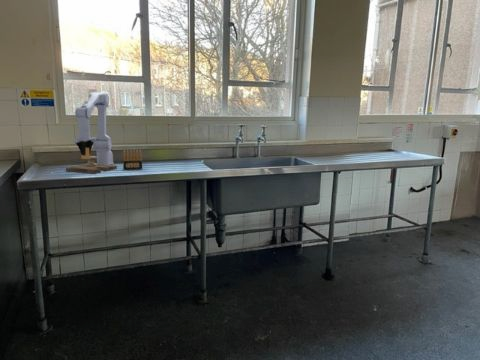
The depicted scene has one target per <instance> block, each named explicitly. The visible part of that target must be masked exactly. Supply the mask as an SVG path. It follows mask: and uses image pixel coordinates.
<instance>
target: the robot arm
mask: <svg viewBox="0 0 480 360" xmlns="http://www.w3.org/2000/svg"><path fill="white" fill-rule="evenodd" d="M88 95H89V96H88V100H85V101H84V102H83V104H81V105H80V106H79V107H77V108H76V109H75V112H74V114H75V117H76V121H77V127H78V129H77V130H78V138H73V139H72V140H73V144H74V143H75V144H76V146H77V147H78V149H79V152H80V156H81V155H85V153H86V148H89V154H90V155H91V151H92V147H93V149H94V151H96V164H105V165H115V162H114V154H113V151H111V149H112V146H113V144H112V138H111V137H110V136H109V135H107V108H108V107H110V106H109V105H110V97H109V94H108V93H107V92H100V91H99V92H94V91H91V92H90V93H89V94H88ZM95 108H97V134H96V135H95V136H91V130H90V129H91V127H90V126H91V125H90V118H91V117H92V112H93V110H94V109H95Z"/></svg>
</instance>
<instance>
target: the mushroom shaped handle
mask: <svg viewBox="0 0 480 360" xmlns="http://www.w3.org/2000/svg"><path fill="white" fill-rule="evenodd" d="M95 159H97V155H96V156H95V155H90V159H87V163H88V164H87V163H85V164H86V166H96V165H97V162H95Z"/></svg>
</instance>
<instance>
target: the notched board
mask: <svg viewBox="0 0 480 360" xmlns="http://www.w3.org/2000/svg"><path fill="white" fill-rule="evenodd" d="M86 164H88V162H87V163H81V164H78V165H71V166H66V167H65V171H66V172H72V173H83V174H84V173H85V174H92V175H93V174H100V173H102V172H103V171H104V172H109V171H113V170H117V169H118V168H117V167H118V166H117V165H115V164H111V165H105V164H97V163H96V164H97V165H96V166H86Z"/></svg>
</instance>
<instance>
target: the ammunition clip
mask: <svg viewBox="0 0 480 360" xmlns="http://www.w3.org/2000/svg"><path fill="white" fill-rule="evenodd" d="M122 152H123V154H122V155H123V156H122V163H123V165H122V167H123V168H122V170H123V171H127V170H128V171H129V170H143V155H142V150H141V148H140V149H139V150H138V149H137V148H136V150H135V148H133V149H128V148H127V149H126V150H125V148H124V149H123V151H122Z"/></svg>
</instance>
